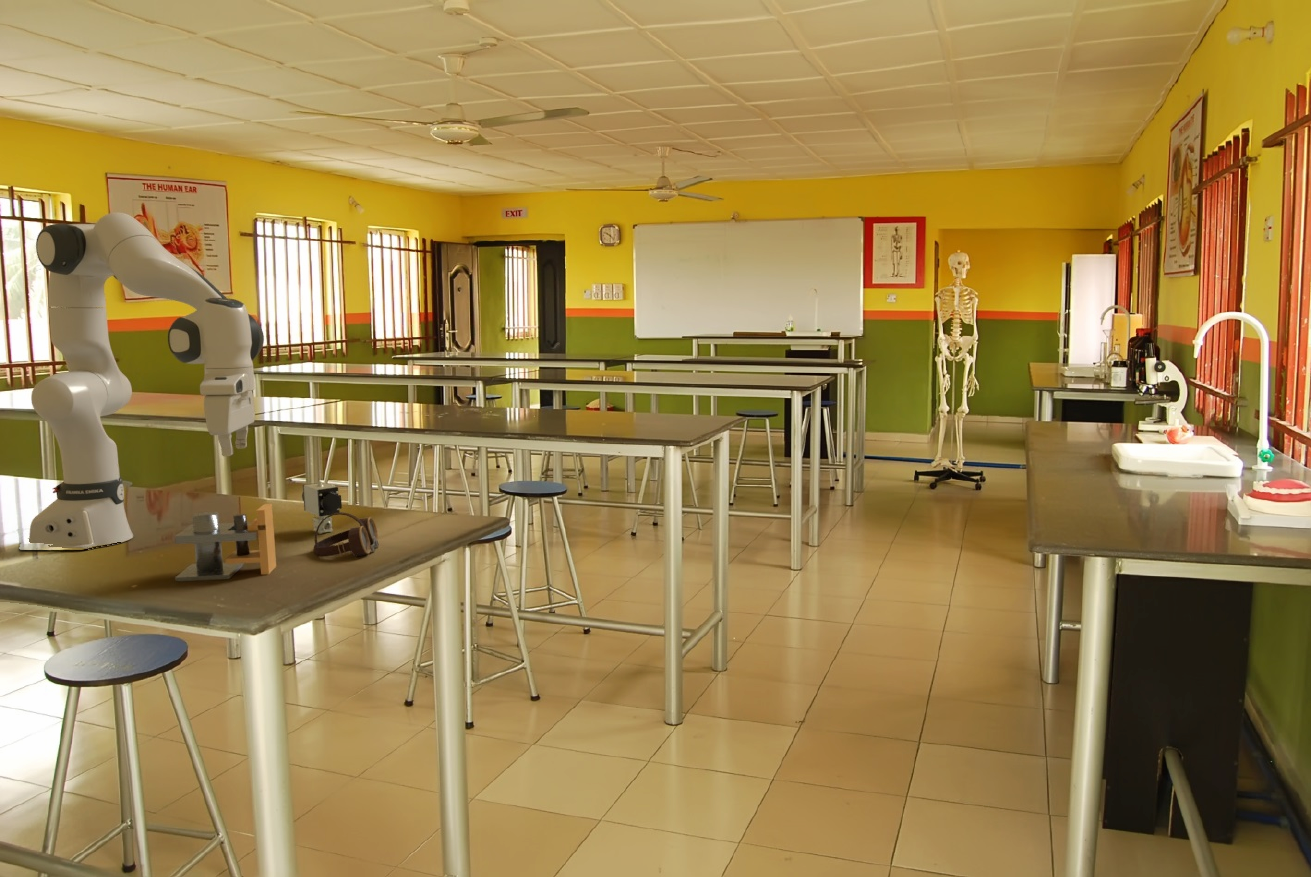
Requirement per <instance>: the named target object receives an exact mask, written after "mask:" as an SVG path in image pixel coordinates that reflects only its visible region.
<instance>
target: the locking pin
mask: <svg viewBox="0 0 1311 877" xmlns="http://www.w3.org/2000/svg"><path fill="white" fill-rule="evenodd" d="M247 518H248V517H247V514H246V513H237V514H234V515H233V523H234V529H235V530H248V528H247V522H248V519H247ZM249 542H250V540H248V541H235V547H236V549H235V550H236V551H237V556H245V555H249V554H250V551H251V550H250V543H249Z"/></svg>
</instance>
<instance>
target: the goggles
mask: <svg viewBox="0 0 1311 877" xmlns="http://www.w3.org/2000/svg"><path fill="white" fill-rule="evenodd" d="M339 515H342V516H347V517H349V518H352V520H353V519H354V520H355V521H356V522H357V523H358V524H359V526H357V527H351V528H350V529H347V530H345V531H341V532H339V533H336V534H333V535H330V536H328V537H326V538H323V539H322V540H319V541H318V533H317V532H318V529H319V527H320V525H321V524H322V522H323V521H324V520H325V519H326V518H328V517H333V516H339ZM326 518H325V519H323V520H322V521H321V523H320V524H319V525H318V527H317V530H316V532H315V533H314V545H313V553H314V554H315V555H316V556H317V557H321V558H323V557H330V556H336V555H341V556H342V555H346V554H347V553H348V552H351V553H352V555H353V556H354V557H356V558H359V556H360V557H362V556H364V555H366V554H370V553H371V552H372V553H375V552H376V548H379V547H378V546H380V545H379V533H378V530H377V525H376V522H375V521H374V520H373V518H372V517H368V518H358V517H356V516H355V515H354V514H350V513H349V512H342V511H341V512H340V513H334V514H331V515H327V517H326ZM347 540H348V541H347ZM344 541H347V542H344ZM335 544H336V545H335ZM374 551H375V552H374Z"/></svg>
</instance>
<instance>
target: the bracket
mask: <svg viewBox="0 0 1311 877" xmlns="http://www.w3.org/2000/svg"><path fill="white" fill-rule="evenodd" d="M255 511H256V518H254V520H252V521H250V522H251V523H250V524H249V525H248V531H254V530H258V547H259V548H258V550H256V549H255V550H254V549H253V550H250V554H249V555H245V556H237V551H233V552H231V553H230V555H229V556H227V557H226V558H225V562H226V564H236V563H243V564H253V563H255V564H256V563H259V564H260V575H262V576H263V575H270V574H271V573H272V572H273V570H275V568H276V567H277V558H276V545H275V544H276V542H275V529H274V516H273V514H274V513H273V503H264V504H262V505H261V506H260V507H259V508H258V509H256V510H255Z"/></svg>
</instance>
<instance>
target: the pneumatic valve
mask: <svg viewBox="0 0 1311 877" xmlns="http://www.w3.org/2000/svg"><path fill="white" fill-rule="evenodd" d="M301 498H302V502H303V505H304V506H303V508H304V511H305V512H308V513H309V514H312V515H314V517H313V518H311V519H312V521H313V525H312V526H313V528H312V531H313V532H315V533H316V530H317V527H318V525H319V524H320V523H321V521H322V520H323V519H325V518H326V517H327V516H329V515H331V514H334V513H340V509H342V508H343V507H342V495H341V494H339V487H338V486H336V485H335V484H334V485H333V484H329V483H325V482H323V481H322V480H318V481H317V482H314V483H309V484H302V494H301ZM316 516H317V517H316ZM332 521H333V518H332V516H330V517H328V518H326V519H325V520H324V521H323V522H322V524H321V525H320V527H319V529H318V532H317V534H318V535H319V534H320V535H321V534H323V533H328V532H330V533H333V531H334V529H333V528H332V527H333V523H332Z"/></svg>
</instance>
